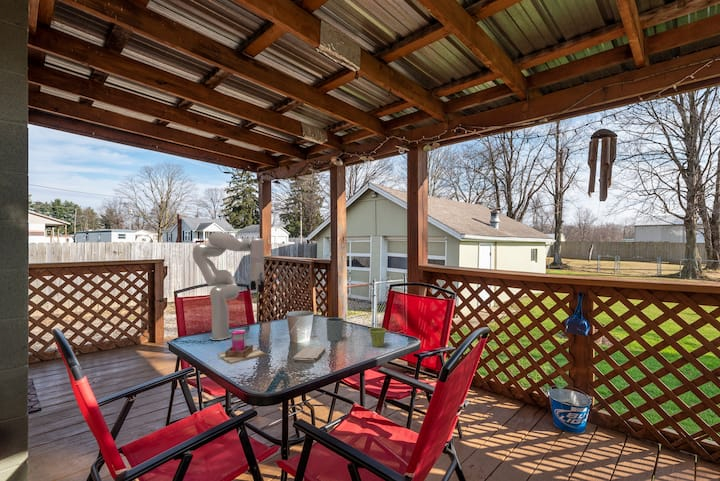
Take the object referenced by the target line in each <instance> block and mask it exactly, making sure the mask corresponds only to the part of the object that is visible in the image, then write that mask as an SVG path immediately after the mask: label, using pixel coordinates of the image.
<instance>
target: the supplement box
mask: <svg viewBox="0 0 720 481" xmlns="http://www.w3.org/2000/svg"><path fill="white" fill-rule="evenodd" d="M231 335H232V337H231V343H232V344H231V347H232V351H244V350H245V349H246V348H245V345H246V329H238V330H237V329H235V330H233V331H232V332H231Z"/></svg>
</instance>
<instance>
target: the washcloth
mask: <svg viewBox="0 0 720 481" xmlns="http://www.w3.org/2000/svg"><path fill="white" fill-rule="evenodd" d="M324 354H326V348H324V347H317V348H316V347H304V348H302V349H301V350H299V351H298V353H296V354H295V355H294V356H293V357H292V362H293V363H294V362H295V363H303V364H314V363H317V362H318V361H319V360H320V358H322V357H323V355H324Z"/></svg>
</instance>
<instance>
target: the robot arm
mask: <svg viewBox="0 0 720 481" xmlns="http://www.w3.org/2000/svg"><path fill="white" fill-rule="evenodd" d="M207 241H208V242H206V243H203V242H202V243H198V244H196V245H194V247H193V249H192V258H193V262H195V264H196V266H197V267H198V268H199V271H200V273H201V275H202V276H203V278H204V281H205V282H206V285H208V286H209V287H212V288H211V289H210V292H209V298H210V305H211V336H212V338H211V339H215V340H221V339H227V338H230V337H231V338H232V333H231V334H230V311H229V310H230V308H229V305H228V303H227V301H230V300H235V299H236V298H238V297H239V295H240V290H239V286H238V284H237V283H236V281H235V278H234V276H233V275H232V273H231V272H230V271H229V270H227V269H217V267H216V265H215V263H214V261H212V260H211V259H210V258H212V257H213V258H214V257H220V256H221V255H223V254H224V253H225V252H226V251H228V250H229V251H233V252H249V256H250V257H249V259H250V260H249V269H248V270H249V272H248V280H249V283H250V284H249V285H250V288H249V289H250V291H256V290H257V291H258V292H259V293H263V292H265V284H266V283H265V282H266V276H265V265H264V263H265V240H264V239H263V238H251V237H235V236H234V235H233V234H232V233H230V232H217V231H216V232H212V233H210V234H209V236H208V239H207ZM257 284H258V285H257ZM231 338H230V339H231ZM227 340H228V339H227Z"/></svg>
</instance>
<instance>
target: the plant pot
mask: <svg viewBox="0 0 720 481" xmlns="http://www.w3.org/2000/svg"><path fill="white" fill-rule="evenodd" d="M368 332H369V333H370V338H371V345H372V346H373V347H375V348H378V347H380V348H382V347H384V343H385V336H386V332H387V329H386V328H384V327H373V328H369V331H368Z"/></svg>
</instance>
